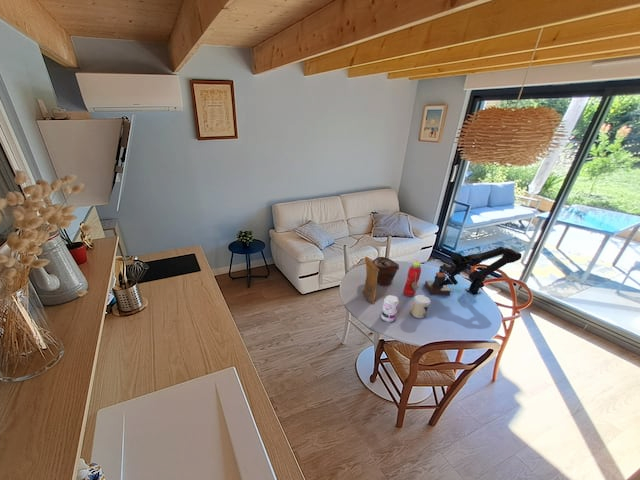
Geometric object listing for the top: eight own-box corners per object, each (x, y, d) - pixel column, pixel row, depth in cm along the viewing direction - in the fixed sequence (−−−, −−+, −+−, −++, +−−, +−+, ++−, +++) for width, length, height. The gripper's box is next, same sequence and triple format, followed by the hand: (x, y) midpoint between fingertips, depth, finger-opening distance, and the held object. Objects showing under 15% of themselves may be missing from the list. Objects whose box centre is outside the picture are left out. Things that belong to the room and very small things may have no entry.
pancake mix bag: (367, 304, 189) (373, 268, 175) (359, 289, 206) (364, 254, 192) (377, 304, 189) (384, 268, 176) (368, 288, 206) (374, 254, 192)
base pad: (442, 285, 209) (443, 281, 207) (449, 295, 198) (451, 290, 196) (424, 285, 210) (425, 280, 208) (430, 294, 199) (432, 290, 197)
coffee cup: (424, 320, 174) (429, 305, 168) (408, 315, 179) (412, 300, 173) (426, 312, 181) (431, 297, 175) (411, 308, 186) (415, 293, 180)
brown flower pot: (373, 272, 226) (376, 252, 218) (398, 279, 216) (403, 259, 207) (364, 282, 214) (368, 261, 205) (391, 290, 204) (396, 268, 195)
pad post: (438, 288, 206) (443, 272, 199) (441, 292, 202) (446, 276, 195) (431, 287, 206) (436, 272, 200) (434, 291, 202) (439, 276, 196)
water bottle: (416, 301, 192) (425, 269, 180) (404, 299, 194) (412, 267, 182) (413, 291, 202) (422, 260, 190) (401, 290, 204) (409, 259, 192)
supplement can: (394, 315, 179) (399, 295, 172) (394, 323, 172) (399, 303, 165) (381, 312, 182) (385, 293, 174) (380, 320, 175) (384, 301, 167)
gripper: (445, 255, 200) (425, 268, 206) (458, 267, 184) (436, 281, 190) (454, 265, 203) (434, 277, 209) (467, 278, 187) (444, 291, 193)
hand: (437, 281), depth 200 cm, fingers open, 9 cm apart
